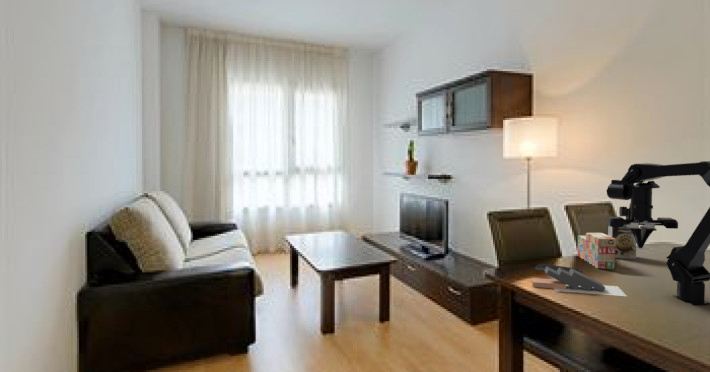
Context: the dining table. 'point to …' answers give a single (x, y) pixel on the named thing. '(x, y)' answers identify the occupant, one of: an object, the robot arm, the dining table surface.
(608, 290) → the white mat
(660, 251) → the dining table surface
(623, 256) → the coffee box
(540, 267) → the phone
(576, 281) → the domino
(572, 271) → the domino
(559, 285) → the terracotta domino
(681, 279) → the robot arm
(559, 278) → the domino
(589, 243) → the stack of blocks
